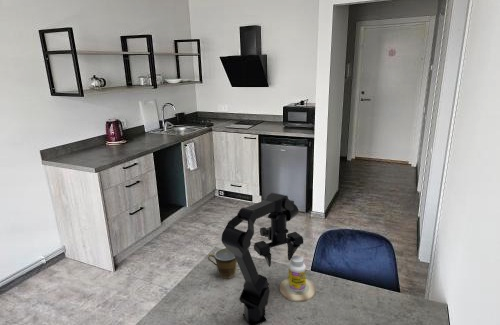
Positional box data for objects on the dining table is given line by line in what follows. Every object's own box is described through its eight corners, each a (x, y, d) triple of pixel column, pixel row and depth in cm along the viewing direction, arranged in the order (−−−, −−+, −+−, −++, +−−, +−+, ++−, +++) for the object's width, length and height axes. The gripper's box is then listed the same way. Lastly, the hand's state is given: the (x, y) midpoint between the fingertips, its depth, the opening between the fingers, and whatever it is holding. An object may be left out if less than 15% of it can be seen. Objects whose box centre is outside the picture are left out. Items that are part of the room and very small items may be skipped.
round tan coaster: (292, 306, 122) (292, 303, 121) (273, 285, 134) (273, 282, 134) (322, 294, 128) (322, 291, 127) (302, 275, 140) (302, 273, 139)
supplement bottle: (289, 292, 127) (288, 263, 124) (288, 282, 134) (288, 253, 130) (306, 292, 127) (306, 263, 123) (305, 282, 133) (305, 254, 130)
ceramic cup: (240, 268, 147) (239, 248, 144) (237, 281, 137) (236, 260, 135) (211, 267, 148) (210, 247, 146) (206, 280, 139) (205, 259, 136)
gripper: (288, 212, 133) (288, 247, 137) (246, 223, 125) (248, 259, 130) (304, 223, 123) (304, 260, 127) (260, 235, 116) (261, 274, 120)
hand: (279, 263), depth 126 cm, fingers open, 8 cm apart
